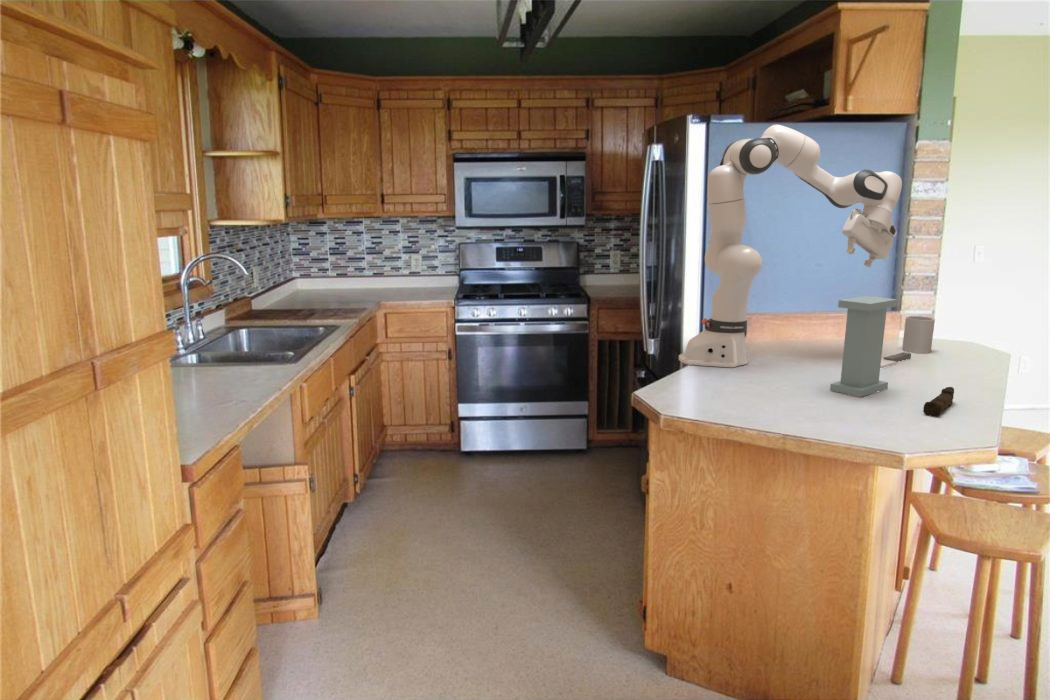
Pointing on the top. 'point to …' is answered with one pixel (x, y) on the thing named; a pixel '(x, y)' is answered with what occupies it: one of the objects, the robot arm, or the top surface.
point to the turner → (894, 359)
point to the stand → (863, 345)
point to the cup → (918, 334)
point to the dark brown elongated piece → (939, 402)
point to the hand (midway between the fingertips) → (858, 259)
